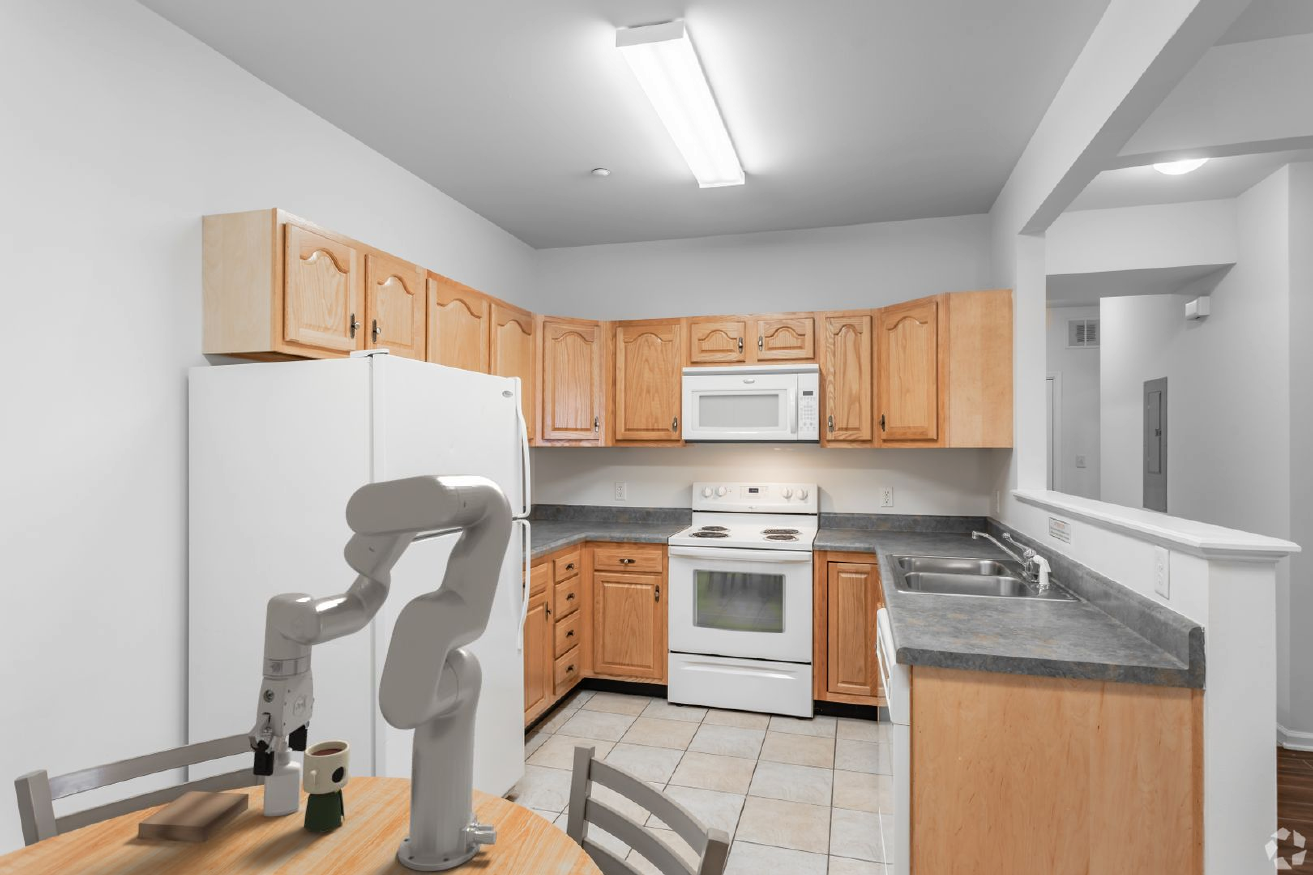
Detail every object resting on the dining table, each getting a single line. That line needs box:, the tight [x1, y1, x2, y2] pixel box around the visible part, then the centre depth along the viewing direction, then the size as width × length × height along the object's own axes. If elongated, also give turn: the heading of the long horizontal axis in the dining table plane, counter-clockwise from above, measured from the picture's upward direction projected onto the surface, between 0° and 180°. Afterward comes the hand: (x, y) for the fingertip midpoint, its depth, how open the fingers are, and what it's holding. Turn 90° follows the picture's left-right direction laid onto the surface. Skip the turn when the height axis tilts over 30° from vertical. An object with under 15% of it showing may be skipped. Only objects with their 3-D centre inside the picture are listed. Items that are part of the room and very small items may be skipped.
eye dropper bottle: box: [262, 740, 302, 818], centre depth 119 cm, size 4×6×12 cm
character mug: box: [301, 739, 351, 833], centre depth 114 cm, size 11×7×13 cm, turn 0°
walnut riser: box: [137, 790, 250, 843], centre depth 114 cm, size 11×11×2 cm
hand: (280, 762), depth 119 cm, fingers open, 9 cm apart
